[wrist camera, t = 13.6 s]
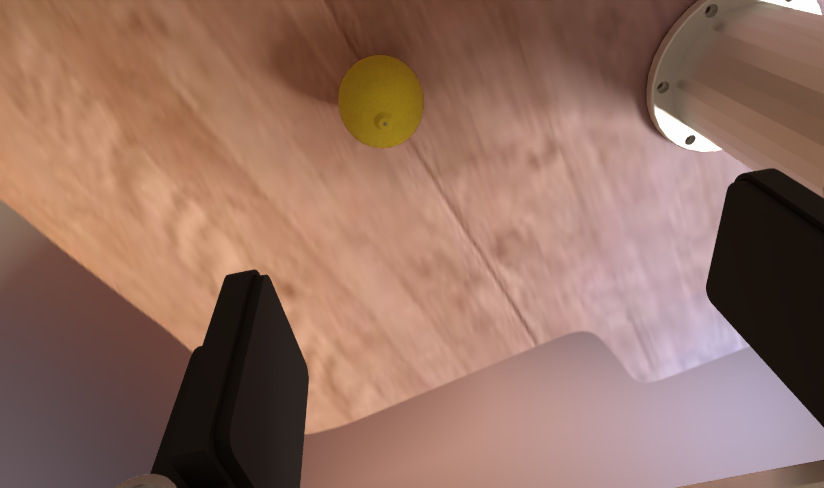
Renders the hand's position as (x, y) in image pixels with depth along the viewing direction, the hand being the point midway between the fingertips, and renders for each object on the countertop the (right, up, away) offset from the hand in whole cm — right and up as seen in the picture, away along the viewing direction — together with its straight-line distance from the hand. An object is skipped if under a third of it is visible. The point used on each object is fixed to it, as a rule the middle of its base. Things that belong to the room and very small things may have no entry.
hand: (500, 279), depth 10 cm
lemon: (-4, +12, +26) cm, 29 cm away
